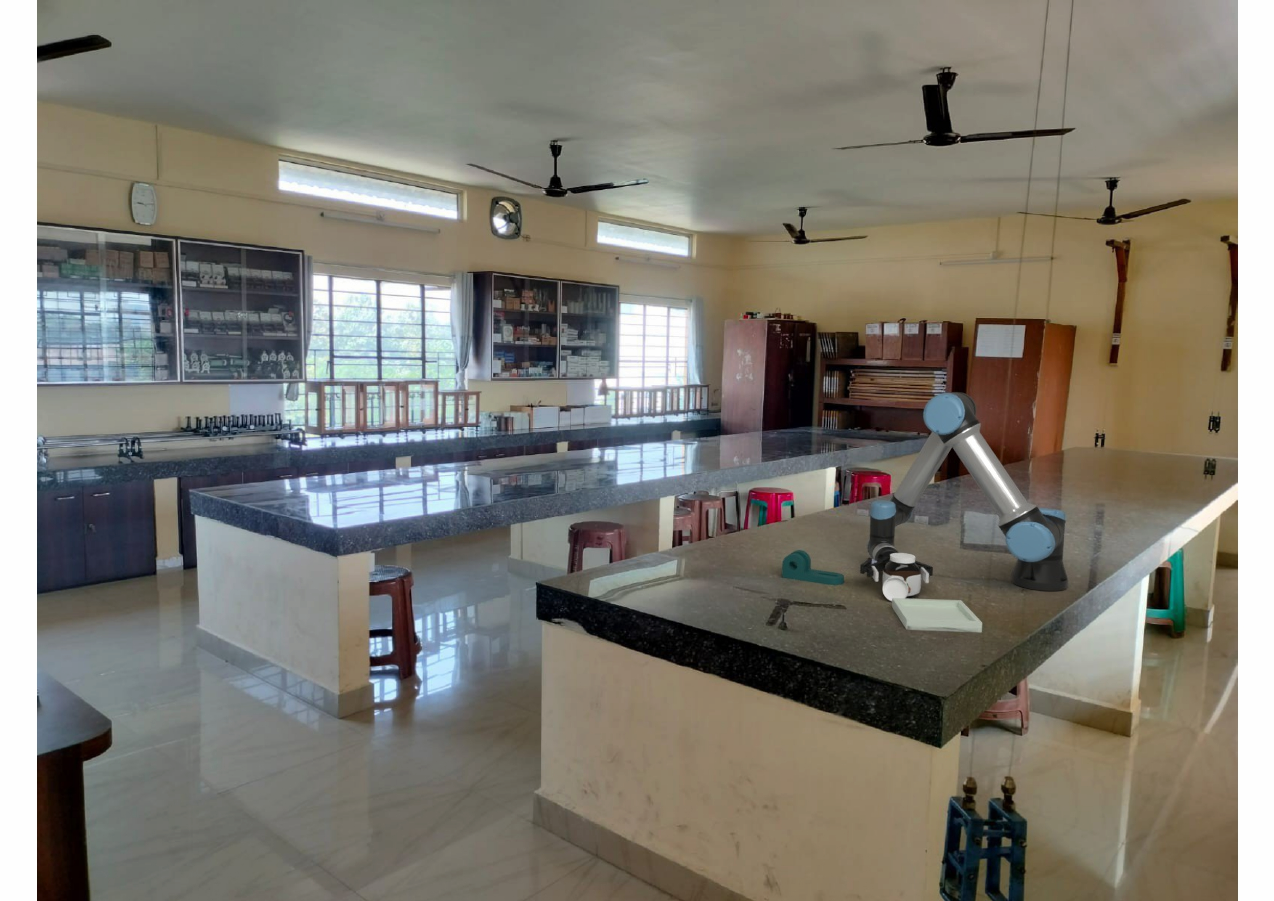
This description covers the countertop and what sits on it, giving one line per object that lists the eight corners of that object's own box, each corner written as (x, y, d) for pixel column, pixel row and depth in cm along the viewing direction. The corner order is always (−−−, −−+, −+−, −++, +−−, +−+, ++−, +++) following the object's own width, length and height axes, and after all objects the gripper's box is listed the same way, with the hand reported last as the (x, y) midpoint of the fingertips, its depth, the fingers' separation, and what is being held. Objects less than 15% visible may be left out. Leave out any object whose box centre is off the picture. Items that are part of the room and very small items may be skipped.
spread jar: (913, 591, 230) (915, 552, 228) (928, 603, 219) (930, 562, 217) (872, 591, 229) (873, 552, 228) (885, 604, 218) (887, 562, 217)
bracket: (782, 578, 244) (782, 553, 243) (789, 573, 250) (790, 548, 249) (840, 586, 235) (840, 561, 234) (846, 581, 241) (847, 556, 240)
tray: (960, 609, 213) (961, 600, 213) (981, 632, 196) (982, 622, 195) (891, 606, 216) (892, 597, 215) (906, 629, 198) (906, 619, 197)
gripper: (929, 571, 241) (947, 592, 220) (845, 568, 244) (855, 589, 223) (930, 547, 240) (949, 565, 219) (845, 545, 243) (856, 563, 222)
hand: (902, 577), depth 221 cm, fingers open, 13 cm apart
